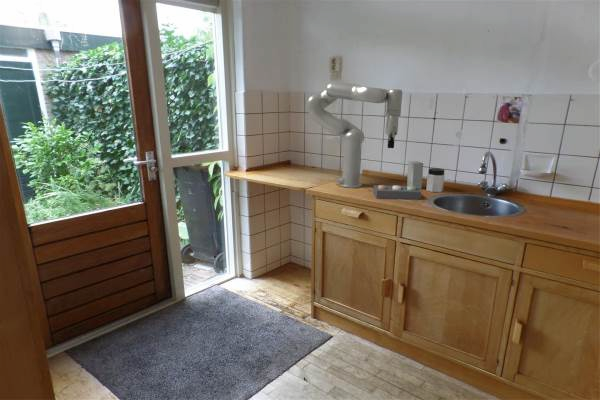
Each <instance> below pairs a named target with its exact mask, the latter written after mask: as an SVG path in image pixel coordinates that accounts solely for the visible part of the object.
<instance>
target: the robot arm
mask: <svg viewBox="0 0 600 400" xmlns="http://www.w3.org/2000/svg"><path fill="white" fill-rule="evenodd" d="M338 99H339V100H340V99H342V100H348V101H353V102H354V101H355V102H356V101H357V102H366V103H371V104H372V103H373V104H384V103H386V109H385V110H386V112H385V117H386V123H385V135H387V148H388V149H394V148H395V137H396V136H397V135H398V131H399V117H401V115H402V114H401V112H402V103H403V102H402V101H403V90H402V89H399V88H398V89H397V88H396V89H395V88H393V89H392V88H391V89H386V88H381V87H380V88H378V87H371V86H370V87H369V86H363V85H359V84H355V83H347V82H340V81H330V82H329V83H328V84H327V85H326V87H325V89H324V91H321V93H316V94H312V95H310V96H309V97H308V99H307V103H306V110H307V113H308V115H309V116H310V118H311V119H312V120H313V121H314V122H316V123H317V125H320V126H321V127H322V128H323V129H325V130H327V131H328V132H329V133H330V134H332V135H333V136H335V137H341V138H342V139H343V141H342V142H343V163H342V176H341V177H339V178H338V177H337V178H336V177H335V178H334V182H337V183H339V186H340V187H342V188H350V189H357V188H361V187H362V183H361V182H360V174H361V173H360V172H361V154H362V152H361V151H362V148H361V147H362V145H361V144H362V143H364V142H365V134H364V132H363V130H361V129H360V128H359V127H357V126H356V125H354V124H353V123H351V122H350V121H349V120H346V119H345V118H338V117H337V116H334V115H333V114H332V113H330V112H329V111H327V110H325V109H326V108H327V107H329V106H330V105H331V104H333V103H334V102H336V101H337V100H338Z"/></svg>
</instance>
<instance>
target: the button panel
mask: <svg viewBox="0 0 600 400" xmlns="http://www.w3.org/2000/svg"><path fill="white" fill-rule="evenodd" d="M386 186H387V188H386V189H378V185H375V184H373V195H374V197H375V198H376V199H382V200H383V199H385V200H415V201H416V200H417V201H418V200H419V201H420V200H421V197H422V191H421V190H420V189H417V188H416V190H407V185H405V186H404V185H400V186H401V190H392V187H393V186H394V185H386Z"/></svg>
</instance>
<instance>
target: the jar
mask: <svg viewBox="0 0 600 400" xmlns="http://www.w3.org/2000/svg"><path fill="white" fill-rule="evenodd" d="M444 183H445V169H443V168H437V167H431V168H429V169H428V173H427V179H426V188H425V189H426V191H428V192H431V193H442V192H443V191H444Z"/></svg>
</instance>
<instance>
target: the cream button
mask: <svg viewBox="0 0 600 400" xmlns="http://www.w3.org/2000/svg"><path fill="white" fill-rule="evenodd" d="M392 186H393V187H392V190H401V186H402V185H397V184H396V185H394V184H393V185H392Z"/></svg>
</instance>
